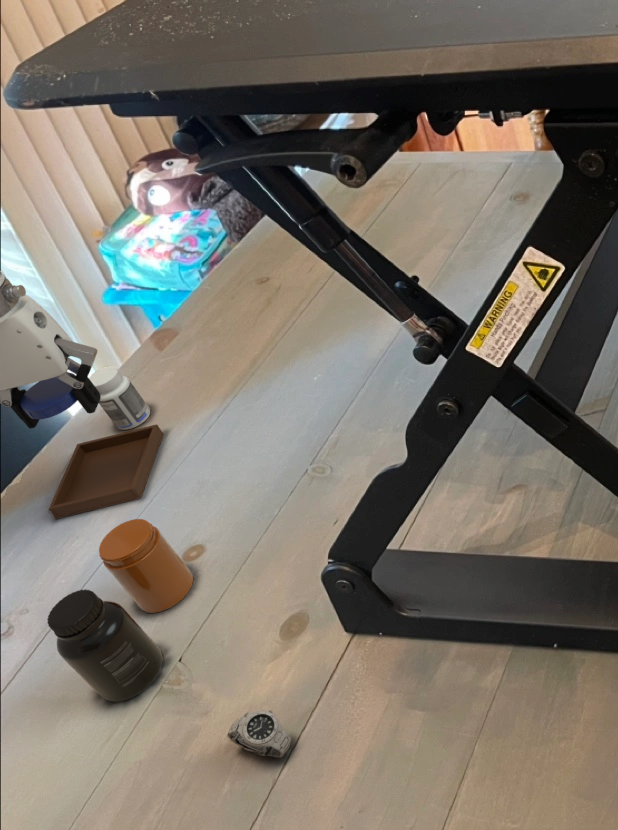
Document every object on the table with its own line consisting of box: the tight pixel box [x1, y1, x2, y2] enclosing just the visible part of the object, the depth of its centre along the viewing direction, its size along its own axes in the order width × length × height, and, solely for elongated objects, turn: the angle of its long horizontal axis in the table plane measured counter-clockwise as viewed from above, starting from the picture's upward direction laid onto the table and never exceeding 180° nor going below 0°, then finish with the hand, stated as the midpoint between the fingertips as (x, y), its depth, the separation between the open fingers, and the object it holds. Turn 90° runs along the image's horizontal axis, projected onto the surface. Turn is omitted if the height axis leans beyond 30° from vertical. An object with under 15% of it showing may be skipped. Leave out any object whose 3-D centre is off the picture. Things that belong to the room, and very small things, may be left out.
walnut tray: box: [47, 424, 164, 520], centre depth 140 cm, size 11×12×2 cm
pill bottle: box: [88, 365, 151, 431], centre depth 147 cm, size 5×5×8 cm
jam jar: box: [98, 518, 194, 614], centre depth 120 cm, size 6×6×9 cm
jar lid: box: [20, 372, 78, 421], centre depth 132 cm, size 7×7×2 cm
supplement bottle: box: [47, 588, 164, 702], centre depth 110 cm, size 7×7×12 cm
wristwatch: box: [226, 710, 292, 759], centre depth 103 cm, size 4×6×5 cm, turn 74°
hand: (65, 412), depth 133 cm, fingers closed on jar lid, 6 cm apart
